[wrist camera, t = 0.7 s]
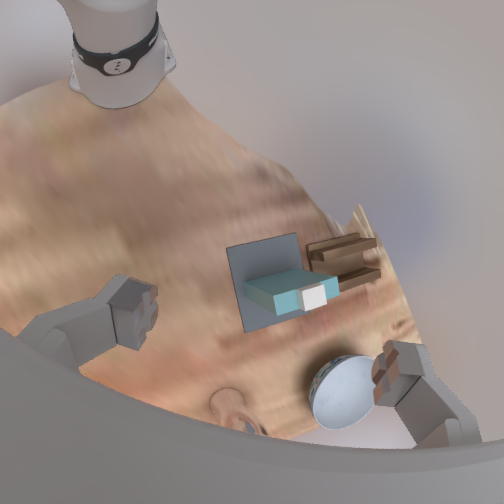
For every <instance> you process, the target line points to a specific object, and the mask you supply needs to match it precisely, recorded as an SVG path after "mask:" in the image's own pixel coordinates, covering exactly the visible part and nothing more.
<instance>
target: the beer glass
mask: <svg viewBox="0 0 504 504" xmlns="http://www.w3.org/2000/svg"><path fill="white" fill-rule="evenodd" d="M210 408H211V410H212V412H213V413H214V414H215V416H216V417H217V425H218V426H222V427H226V428H230V429H234V430H238V431H243V432H247V433H252V434H257V435H262V436H267V437H271V436H270V434H269V432H268V430H267V429H266V427H265V425H264V424H263V422H262V421H261V420H260V419H259V418H258V417H257V416H256V415H255V414H254V413H253V412H252V411H251V410H250V409H249V408H248V407H247V406H246V405H245V401H244V397H243V395H242V394H241V393H240V392H239V391H237V390H235V389H232V388H225V389H221V390H219V391H217V392H216V393H215V394H214V395H213V396H212V398H211V400H210Z"/></svg>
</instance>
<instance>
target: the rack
mask: <svg viewBox="0 0 504 504" xmlns="http://www.w3.org/2000/svg"><path fill="white" fill-rule="evenodd" d="M374 247H377V244H376V238H360V234H359V233H355V234H351V235H347V236H343V237H339V238H335V239H331V240H327V241H322V242H318V243H314V244H310V245H306V250H307V255H308V260H309V266H310V271H311V272H315V273H321V274H326V275H331V276H337V279H338V285H339V292H342V291H345V290H348V289H351V288H354V287H356V286H359V285H362V284H365V283H367V282H370V281H373V280H376V279H378V278H381V272H380V269H374V268H366V267H365V265H364V259H363V252H362V251H364V250H368V249H371V248H374Z"/></svg>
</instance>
